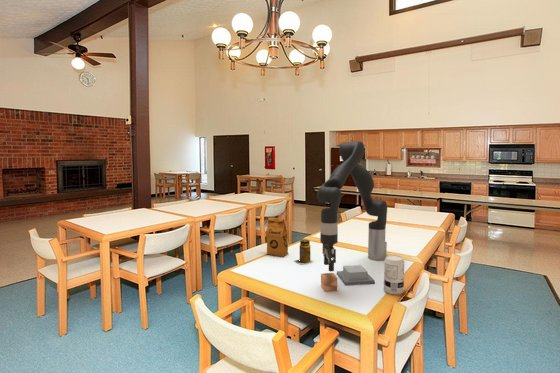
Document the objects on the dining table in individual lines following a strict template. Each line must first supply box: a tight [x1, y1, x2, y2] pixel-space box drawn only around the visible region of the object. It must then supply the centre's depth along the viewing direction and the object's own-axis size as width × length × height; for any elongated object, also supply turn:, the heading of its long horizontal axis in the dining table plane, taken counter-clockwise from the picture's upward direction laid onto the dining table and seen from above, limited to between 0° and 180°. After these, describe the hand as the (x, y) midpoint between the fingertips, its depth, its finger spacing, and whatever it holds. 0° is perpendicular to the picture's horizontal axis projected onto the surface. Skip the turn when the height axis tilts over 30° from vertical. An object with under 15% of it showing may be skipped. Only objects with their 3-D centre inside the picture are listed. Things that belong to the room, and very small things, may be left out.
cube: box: [320, 272, 338, 292], centre depth 151 cm, size 6×6×6 cm
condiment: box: [294, 238, 314, 266], centre depth 186 cm, size 7×8×12 cm
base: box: [336, 264, 376, 286], centre depth 161 cm, size 14×14×5 cm
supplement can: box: [383, 254, 405, 296], centre depth 146 cm, size 8×8×15 cm
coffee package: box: [265, 217, 289, 258], centre depth 199 cm, size 10×12×22 cm
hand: (328, 267), depth 150 cm, fingers open, 8 cm apart
